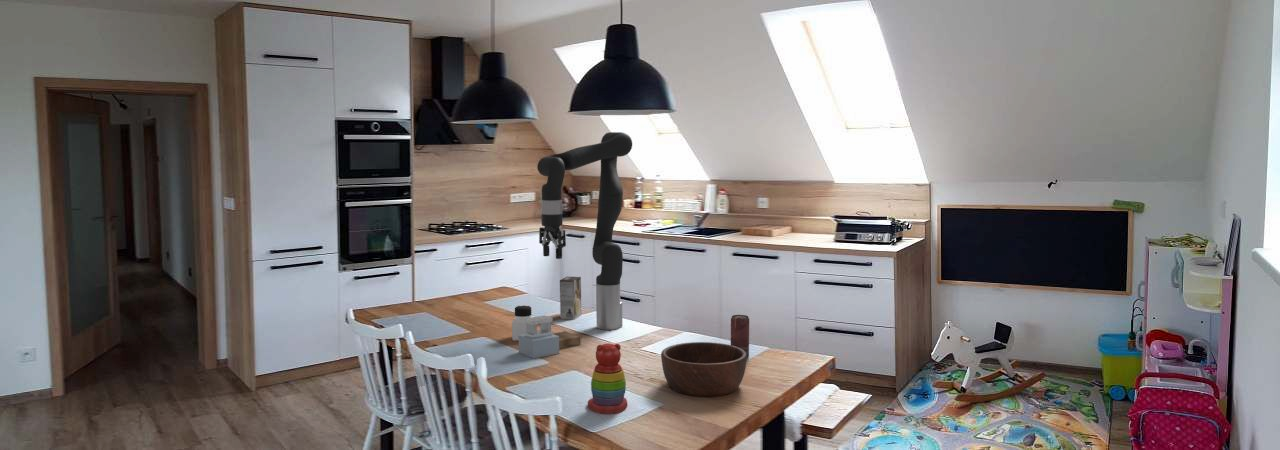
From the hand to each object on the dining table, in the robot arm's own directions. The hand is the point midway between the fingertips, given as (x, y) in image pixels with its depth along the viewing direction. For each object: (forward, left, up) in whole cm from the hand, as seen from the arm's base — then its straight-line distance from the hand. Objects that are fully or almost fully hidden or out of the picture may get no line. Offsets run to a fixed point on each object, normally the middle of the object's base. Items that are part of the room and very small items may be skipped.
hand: (552, 257), depth 282 cm
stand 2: (+2, +8, -30) cm, 31 cm away
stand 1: (+14, +13, -30) cm, 36 cm away
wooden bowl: (-5, +75, -30) cm, 81 cm away
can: (-35, +60, -30) cm, 76 cm away
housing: (+14, +13, -24) cm, 31 cm away
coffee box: (-25, -27, -30) cm, 48 cm away
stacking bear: (+28, +73, -30) cm, 84 cm away
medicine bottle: (+8, -8, -30) cm, 32 cm away
